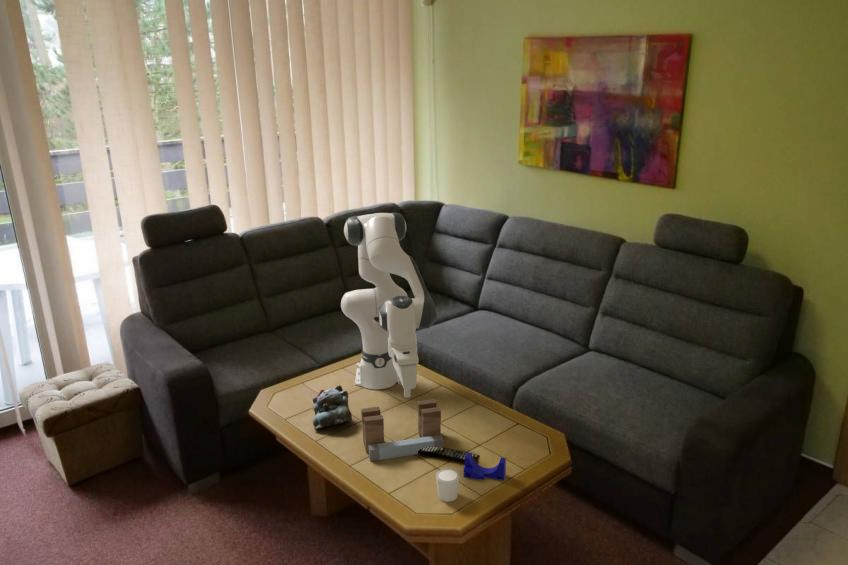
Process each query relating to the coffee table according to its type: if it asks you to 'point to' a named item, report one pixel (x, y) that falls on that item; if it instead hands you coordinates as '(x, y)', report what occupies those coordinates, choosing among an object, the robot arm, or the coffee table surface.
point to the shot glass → (447, 484)
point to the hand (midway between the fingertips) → (404, 390)
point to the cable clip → (484, 469)
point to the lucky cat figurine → (331, 407)
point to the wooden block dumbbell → (375, 423)
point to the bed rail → (403, 447)
